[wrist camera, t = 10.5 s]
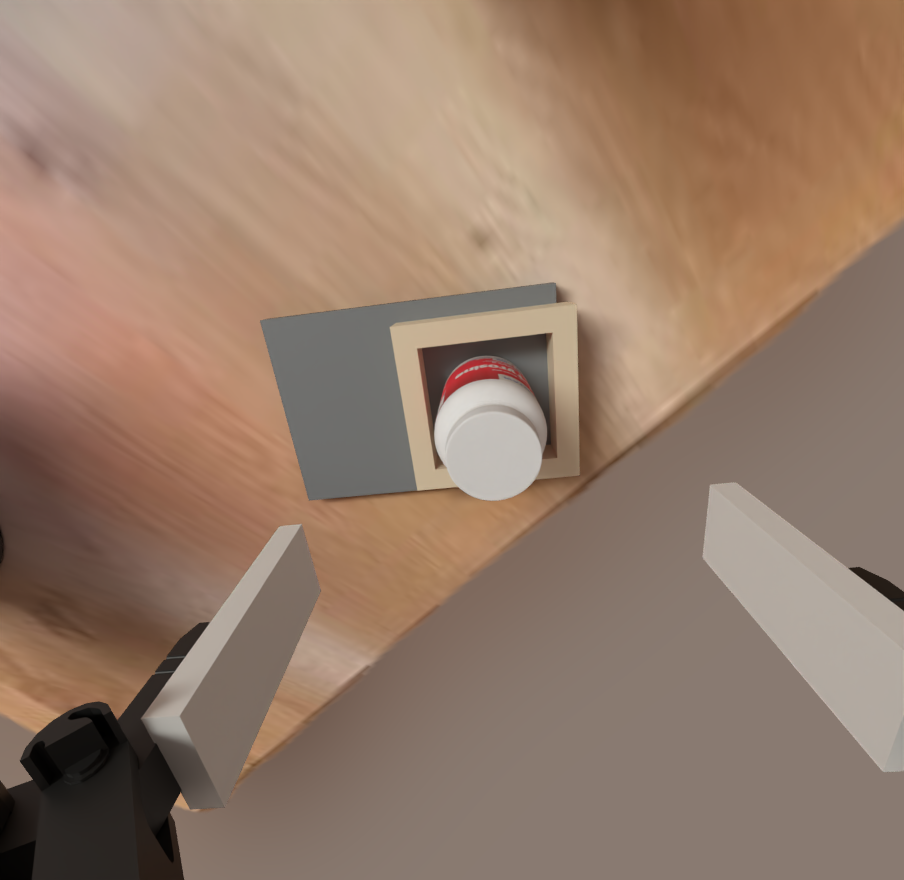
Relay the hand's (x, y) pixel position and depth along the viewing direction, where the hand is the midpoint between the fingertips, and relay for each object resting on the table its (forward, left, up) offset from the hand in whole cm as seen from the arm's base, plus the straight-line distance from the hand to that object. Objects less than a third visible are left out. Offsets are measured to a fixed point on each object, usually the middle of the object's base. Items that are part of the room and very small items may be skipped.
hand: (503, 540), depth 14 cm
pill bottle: (0, 0, -18) cm, 18 cm away
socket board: (-5, 0, -19) cm, 20 cm away
